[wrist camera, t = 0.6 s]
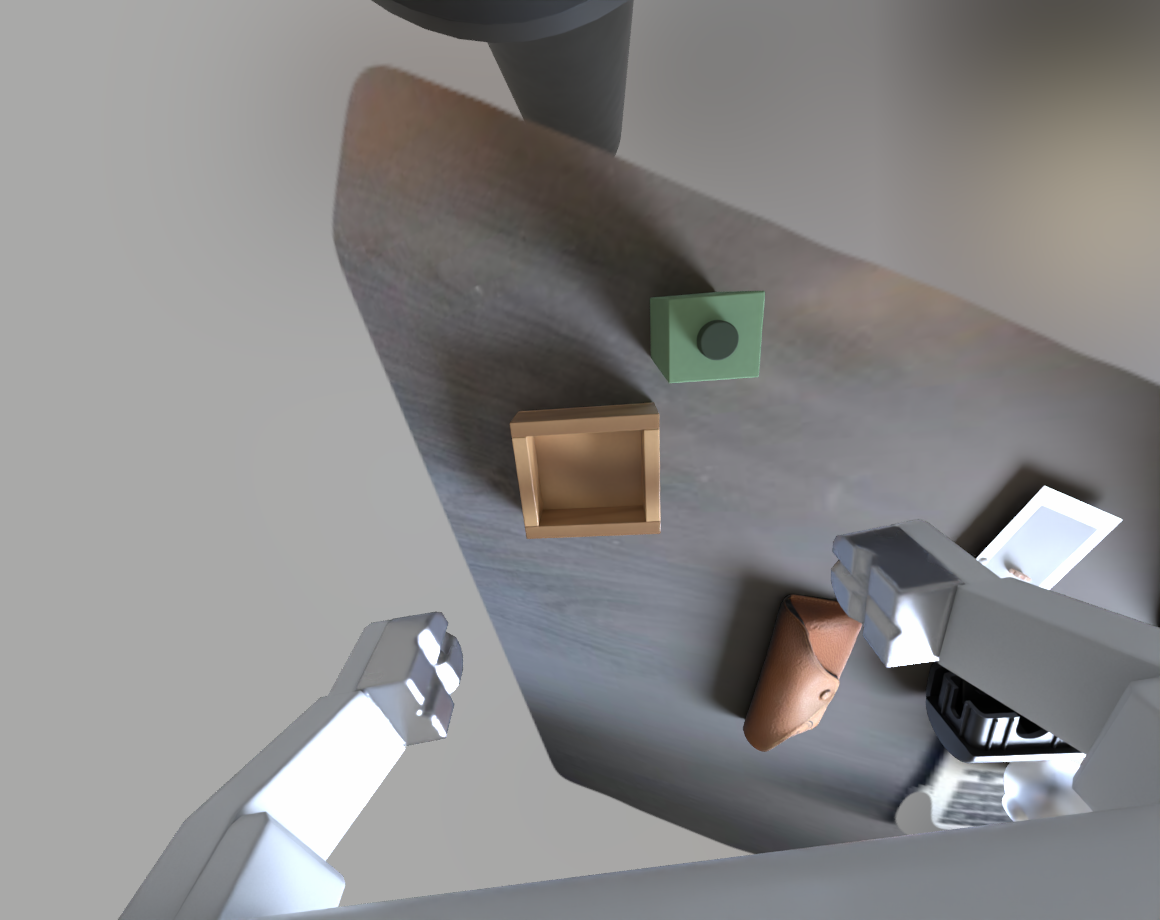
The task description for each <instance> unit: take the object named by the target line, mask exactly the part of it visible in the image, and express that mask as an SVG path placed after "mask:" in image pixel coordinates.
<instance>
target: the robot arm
mask: <svg viewBox="0 0 1160 920" xmlns="http://www.w3.org/2000/svg"><path fill="white" fill-rule="evenodd" d="M832 552H833V553H834V554H835V555H836V557H837V558H838V559H839V560H838V561H837V563H836V564H835V565H834V566H833V567H832V568H831V583H832V587H833V590H834V594H835V596H836V598H837V600H838V602H839V604H840V606H841V607H842V609H843V610H844V611H845V613H846V614H847V616H848V617H850V618H852V619H854V620H856V621H858V622H860V623H862V624H864V629H863V637H864V638H865V640H866V641H867V642H868V644H869V645H870V646H871V648H872V649H873V650H874V651H875V653H876V654H877V655H878V657H879V658H880V659H881V661H882V662H883V663H884V665H885V666H886V667H894V666H902V665H909V664H917V663H925V662H932V661H938V664H940V665H941V666H943V667H945V668H946V669H948V670H949V671H951V672H953V673H954V674H956V675H957V676H959V677H961V678H962V679H964V680H966V681H967V682H969V683H970V684H972V685H974V686H975V687H977V688H979V689H980V690H982V691H983V692H985V693H987V694H988V695H990V696H991V697H993V698H995V699H996V700H998V701H1000V702H1001V703H1003V704H1004V705H1006V706H1008V707H1009V708H1011V709H1012V710H1014V711H1016V712H1017V713H1019V714H1021V715H1022V716H1024V717H1025V718H1027V719H1029V720H1030V721H1032V722H1034V723H1035V724H1037V725H1038V726H1040V727H1042V728H1043V729H1045V730H1046V731H1048V732H1050V733H1051V734H1053V735H1055V736H1056V737H1058V738H1059V739H1061V740H1063V741H1064V742H1066V743H1067V744H1069V745H1071V746H1072V747H1074V748H1076V749H1077V750H1079V751H1080V752H1082V753H1084V754H1085V755H1086V756H1085V758H1084V760H1083V761H1082V763H1081V765H1080V766H1079V768H1078V770H1077V771H1076V773H1075V775H1074V776H1073V782H1072V789H1073V790H1074V791H1075V792H1076V793H1077V794H1078V795H1079V796H1080V797H1081V799H1082V800H1083V801H1084V802H1085V803H1086V804H1087V805H1088V806H1089V807H1090V808H1091V810H1092V811H1093V812H1087V813H1079V814H1071V815H1063V816H1055V817H1047V818H1040V819H1032V820H1024V821H1016V822H1008V823H1000V824H992V825H984V826H976V827H968V828H960V829H952V830H944V831H936V832H929V833H921V834H913V835H905V836H897V837H889V838H881V839H873V840H865V841H857V842H849V843H841V844H833V845H826V846H818V847H810V848H802V849H794V850H786V851H778V852H770V853H762V854H754V855H746V856H738V857H731V858H724V859H715V860H707V861H699V862H691V863H683V864H675V865H668V866H660V867H651V868H643V869H635V870H627V871H619V872H612V873H604V874H596V875H588V876H580V877H572V878H564V879H556V880H549V881H541V882H532V883H525V884H517V885H509V886H501V887H493V888H485V889H477V890H470V891H462V892H453V893H446V894H438V895H430V896H422V897H414V898H406V899H398V900H391V901H382V902H375V903H367V904H359V905H351V906H343V907H338V905H339V902H340V898H341V896H342V893H343V890H344V887H345V881H344V878H343V875H342V874H340V873H339V872H338V871H337V870H336V869H334V868H333V867H332V866H331V865H330V864H328V863H327V862H326V859H327V858H328V857H329V855H330V854H331V852H332V851H333V850H334V848H335V847H336V845H337V844H338V842H339V841H340V840H341V838H342V837H343V835H344V834H345V833H346V831H347V830H348V828H349V827H350V826H351V824H352V823H353V821H354V820H355V819H356V817H357V816H358V814H359V813H360V812H361V810H362V809H363V807H364V806H365V805H366V803H367V802H368V800H369V799H370V797H371V796H372V795H373V793H374V792H375V791H376V789H377V788H378V786H379V785H380V784H381V782H382V781H383V779H384V778H385V777H386V775H387V774H388V772H389V771H390V770H391V768H392V767H393V765H394V764H395V763H396V761H397V760H398V758H399V757H400V756H401V754H402V753H403V751H404V750H405V747H404V746H409V745H414V744H419V743H424V742H430V741H434V740H440V739H445V738H446V735H447V731H448V727H449V723H450V719H451V716H452V712H453V708H454V703H453V701H452V699H451V697H450V694H451V693H452V692H453V691H454V690H455V688H456V687H457V686H458V685H459V684H460V680H461V676H462V671H463V654H462V651H461V647H460V644H459V642H458V640H457V638H456V637H455V636H453V635H451V634H449V633H447V632H446V629H447V626H448V622H447V620H446V618H445V617H444V615H443V614H442V612H431V613H425V614H420V615H413V616H407V617H401V618H395V619H392V620H386V621H380V622H373V623H371V624H369V625H368V626H367V627H365V628H364V630H363V632H362V634H361V636H360V638H359V639H358V641H357V643H356V645H355V647H354V649H353V650H352V653H351V654H350V656H349V658H348V660H347V662H346V663H345V665H344V667H343V669H342V671H341V673H340V674H339V676H338V678H337V680H336V682H335V684H334V685H333V687H332V689H331V691H330V693H329V695H328V696H325V697H320V698H319V699H318V700H317V701H316V702H315V703H314V704H313V705H312V706H310V707H309V708H308V709H307V710H306V711H305V712H304V713H303V714H302V715H300V716H299V717H298V718H297V719H296V720H295V721H294V722H293V723H292V724H291V725H289V726H288V727H287V728H286V729H285V730H284V731H283V732H282V733H281V734H280V735H278V736H277V737H276V738H275V739H274V740H273V741H272V742H271V743H270V744H269V745H267V746H266V747H265V748H264V749H263V750H262V751H261V752H260V753H259V754H258V755H256V756H255V757H254V758H253V759H252V760H251V761H250V762H249V763H248V764H246V765H245V766H244V767H243V768H242V769H241V770H240V771H239V772H238V773H237V774H235V775H234V776H233V777H232V778H231V779H230V780H229V781H228V782H227V783H226V784H224V785H223V786H222V787H221V788H220V789H219V790H218V791H217V792H216V793H215V794H214V795H212V796H211V797H210V798H209V799H208V800H207V801H206V802H205V803H203V804H202V805H201V806H200V807H199V808H198V809H197V810H196V811H195V812H194V813H192V814H191V815H190V816H189V817H188V818H187V819H186V820H185V821H184V822H183V824H182V825H181V827H180V828H179V830H178V831H177V833H176V834H175V836H174V837H173V839H172V840H171V841H170V843H169V845H168V846H167V848H166V849H165V850H164V852H163V854H162V855H161V856H160V858H159V859H158V861H157V863H156V864H155V865H154V867H153V868H152V870H151V871H150V873H149V874H148V876H147V877H146V879H145V880H144V882H143V883H142V885H141V886H140V888H139V889H138V891H137V892H136V894H135V895H134V897H133V898H132V900H131V901H130V903H129V904H128V905H127V907H126V909H125V910H124V911H123V913H122V914H121V916H120V917H119V919H118V920H1160V628H1159V627H1156V626H1153V625H1150V624H1147V623H1144V622H1141V621H1138V620H1136V619H1133V618H1130V617H1127V616H1124V615H1121V614H1118V613H1115V612H1112V611H1109V610H1106V609H1103V608H1100V607H1098V606H1095V605H1092V604H1089V603H1086V602H1083V601H1080V600H1077V599H1074V598H1071V597H1068V596H1065V595H1062V594H1060V593H1057V592H1054V591H1051V590H1048V589H1045V588H1042V587H1039V586H1036V585H1033V584H1030V583H1027V582H1024V581H1022V580H1019V579H1016V578H1013V577H1006V578H1000V577H999V576H997V575H996V574H995V573H993V572H992V571H991V570H990V569H988V568H987V567H986V566H984V565H983V564H982V563H980V562H979V561H978V560H976V559H975V558H974V557H973V556H971V555H970V554H969V553H967V552H966V551H965V550H963V549H962V548H961V547H960V546H958V545H957V544H956V543H954V542H953V541H952V540H950V539H949V538H948V537H947V536H945V535H944V534H943V533H941V532H940V531H939V530H937V529H936V528H935V527H933V526H932V525H931V524H930V523H928V522H926V521H923V520H920V519H917V520H912V521H907V522H902V523H897V524H892V525H890V526H883V527H878V528H873V529H868V530H863V531H858V532H853V533H848V534H843V535H838V536H836V538H835V539H834V541H833V550H832Z"/></svg>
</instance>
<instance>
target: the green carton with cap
mask: <svg viewBox="0 0 1160 920" xmlns="http://www.w3.org/2000/svg"><path fill="white" fill-rule="evenodd" d="M764 299H765V291H737V292H711V293H700V294H688V295H677V296H665V297H654V298H650V330H651V359H652V360H653V361H654V363H655V364H656V366H657V367H658V368H659V370H660V371H661V373H662V374H663V375H664V377H665V378H666V380H667V381H668V382H669V383H680V382H694V381H709V380H723V379H738V378H752V377H758V376H759V365H760V352H761V339H762V325H763V312H764Z"/></svg>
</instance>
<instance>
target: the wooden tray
mask: <svg viewBox="0 0 1160 920" xmlns="http://www.w3.org/2000/svg"><path fill="white" fill-rule="evenodd" d="M510 430H511V437H512V443H513V450H514V457H515V463H516V470H517V477H518V483H519V490H520V497H521V503H522V510H523V517H524V523H525V531H526V537H527V539H534V538H560V537H586V536H612V535H638V534H660V533H661V527H660V448H659V413H658V411H657V408H656V406H655V404H654V402H653V403H638V404H623V405H607V406H592V407H576V408H561V409H546V410H530V411H518V412H517V414H516V415H515V417H514V418H513V419H512V421H511V422H510Z"/></svg>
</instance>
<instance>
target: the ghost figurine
mask: <svg viewBox="0 0 1160 920" xmlns="http://www.w3.org/2000/svg"><path fill="white" fill-rule="evenodd" d="M1079 766H1080V765H1078V764H1076V763H1074V762H1072V761H1070V760H1047V761H1019V762H1010V763H1009V765H1008V766H1007V768H1006V770H1005V773H1004V789H1005V795H1004V796H1003V798H1002V804H1003V807H1004V809H1005V811H1006V813H1007V814H1008V815H1009V817H1010V818H1011V819H1012V820H1013V821H1014V822H1016V821H1024V820H1032V819H1040V818H1047V817H1055V816H1063V815H1071V814H1079V813H1087V812H1093V811H1092V810H1091V808H1090V807H1089V806H1088V805H1087V804H1086V803H1085V802H1084V801H1083V800H1082V799H1081V797H1080V796H1079V795H1078V794H1077V793H1076V792H1075V791H1074V790H1073V789H1072V782H1073V776H1074V775H1075V773H1076V771H1077V770H1078V768H1079Z"/></svg>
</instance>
